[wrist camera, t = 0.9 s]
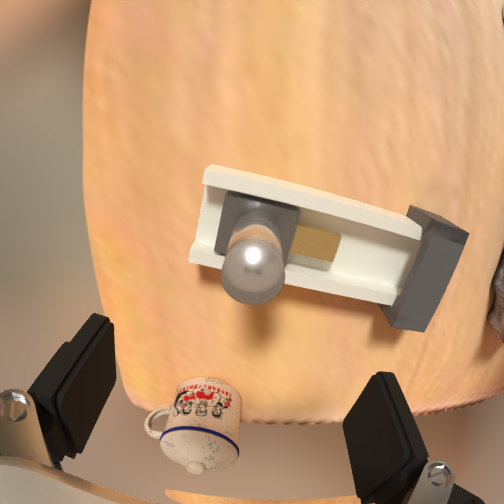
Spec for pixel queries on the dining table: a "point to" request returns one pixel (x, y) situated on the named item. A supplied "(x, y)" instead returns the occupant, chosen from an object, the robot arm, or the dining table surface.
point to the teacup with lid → (200, 425)
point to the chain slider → (264, 245)
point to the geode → (498, 301)
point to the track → (349, 246)
